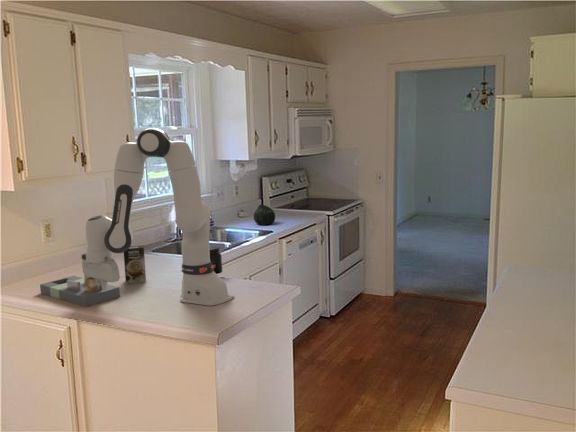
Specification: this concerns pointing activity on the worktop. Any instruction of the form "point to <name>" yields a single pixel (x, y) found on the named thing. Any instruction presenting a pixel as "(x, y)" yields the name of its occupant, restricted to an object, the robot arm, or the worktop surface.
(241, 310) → the worktop surface
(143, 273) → the coffee box
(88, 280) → the maple block
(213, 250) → the supplement bottle
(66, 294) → the tunnel deck
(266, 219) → the squash
